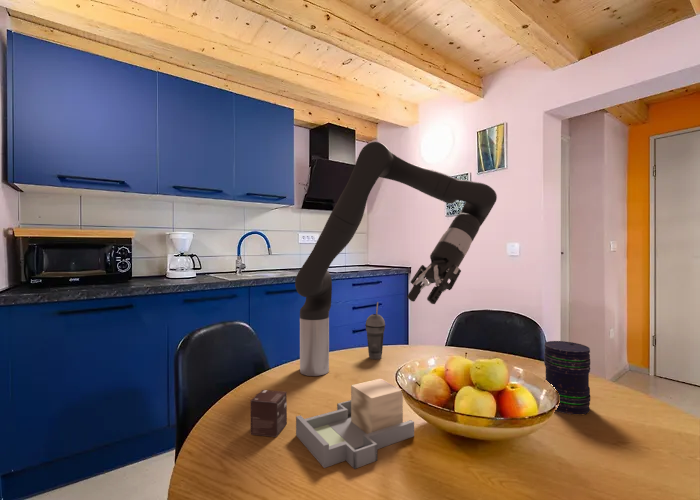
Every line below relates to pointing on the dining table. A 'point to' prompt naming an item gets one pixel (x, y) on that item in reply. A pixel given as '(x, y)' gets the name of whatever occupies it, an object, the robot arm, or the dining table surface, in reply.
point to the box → (268, 413)
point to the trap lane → (346, 437)
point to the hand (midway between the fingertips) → (419, 300)
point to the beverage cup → (375, 335)
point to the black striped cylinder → (569, 375)
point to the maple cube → (376, 405)
